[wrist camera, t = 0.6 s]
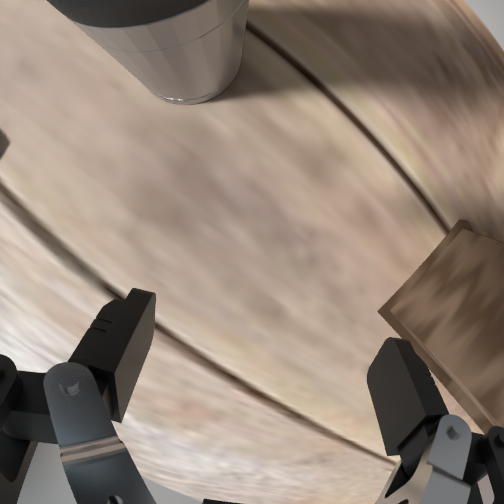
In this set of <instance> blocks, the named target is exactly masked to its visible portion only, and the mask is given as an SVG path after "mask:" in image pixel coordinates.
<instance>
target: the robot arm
mask: <svg viewBox="0 0 504 504" xmlns="http://www.w3.org/2000/svg"><path fill="white" fill-rule="evenodd" d="M47 1H48V2H49V3H50V4H51V5H53V6H54V7H55V8H56V9H57V10H59V11H60V12H61V13H62V14H63V15H65V16H66V17H67V18H68V19H69V20H71V21H72V22H73V23H74V24H75V25H77V26H78V27H79V28H80V29H81V30H82V31H84V32H85V33H86V34H87V35H88V36H89V37H90V38H92V39H93V40H94V41H95V42H97V43H98V44H99V45H100V46H101V47H102V48H103V49H105V50H106V51H107V52H108V53H109V54H110V55H111V56H112V57H114V58H115V59H116V60H117V61H118V62H119V63H120V64H121V65H122V66H124V67H125V68H126V69H127V70H128V71H129V72H130V73H131V74H132V75H133V76H135V77H136V78H137V79H138V80H139V81H140V82H141V83H142V84H143V85H144V86H145V87H146V88H148V89H149V90H150V91H151V92H152V93H153V94H154V95H156V96H157V97H159V98H161V99H162V100H164V101H166V102H170V103H174V104H183V105H189V104H197V103H201V102H204V101H207V100H210V99H211V98H213V97H215V96H217V95H219V94H220V93H221V92H223V91H224V90H225V89H226V88H227V87H228V86H229V85H230V84H231V82H232V81H233V80H234V78H235V76H236V75H237V73H238V71H239V67H240V63H241V57H242V50H243V43H244V36H245V28H246V20H247V13H248V6H249V0H47ZM155 304H156V294H155V293H153V292H149V291H145V290H141V289H137V288H132V290H131V291H130V293H129V294H128V296H127V298H126V299H125V301H121V300H117V299H114V300H112V301H111V302H109V303H108V304H106V305H105V306H103V307H102V309H101V310H100V312H99V313H98V315H97V316H96V319H94V321H93V322H92V324H91V325H90V328H89V329H88V330H87V332H86V333H85V335H84V336H83V338H82V340H81V341H80V343H79V344H78V346H77V348H76V349H75V351H74V352H73V354H72V356H71V357H70V359H69V360H68V362H64V363H60V364H57V365H55V366H53V367H52V368H51V369H49V370H48V372H47V373H36V372H27V371H18V370H17V369H16V366H15V364H14V362H13V361H12V360H11V359H10V358H9V357H7V356H5V355H1V354H0V504H17V500H18V497H19V494H20V491H21V488H22V485H23V482H24V479H25V476H26V474H27V471H28V468H29V466H30V463H31V460H32V457H33V455H34V452H35V450H36V447H37V445H38V442H43V443H52V444H59V447H60V451H61V454H60V457H61V461H62V465H63V468H64V471H65V473H66V476H67V479H68V482H69V484H70V487H71V490H72V492H73V494H74V497H75V499H76V502H77V504H156V502H155V500H154V499H153V497H152V495H151V493H150V492H149V490H148V488H147V487H146V485H145V483H144V481H143V479H142V477H141V475H140V473H139V472H138V470H137V468H136V466H135V464H134V462H133V460H132V458H131V456H130V454H129V452H128V450H127V448H126V446H125V444H124V443H123V442H122V441H120V439H119V437H118V435H117V433H116V431H115V429H114V426H113V424H112V422H111V420H112V421H116V422H119V423H122V420H123V417H124V414H125V412H126V409H127V406H128V403H129V401H130V398H131V395H132V393H133V390H134V387H135V385H136V382H137V379H138V377H139V374H140V372H141V369H142V367H143V364H144V361H145V359H146V356H147V354H148V351H149V349H150V346H151V343H152V339H153V334H154V321H155ZM367 384H368V388H369V391H370V395H371V398H372V402H373V405H374V409H375V412H376V416H377V419H378V423H379V427H380V430H381V434H382V438H383V442H384V446H385V450H386V454H387V456H394V455H400V457H401V460H400V461H398V462H397V464H396V465H395V467H394V469H393V471H392V473H391V475H390V477H389V479H388V481H387V483H386V485H385V487H384V489H383V491H382V493H381V494H380V496H379V498H378V500H377V501H376V503H375V504H483V501H482V498H481V494H480V490H479V487H478V483H477V482H478V481H479V480H481V479H482V478H483V477H484V476H486V475H487V474H488V476H489V479H490V483H491V486H492V489H493V492H494V502H493V504H504V428H503V427H500V426H493V427H491V428H490V429H489V430H488V431H487V432H486V433H485V434H484V435H482V434H478V433H473V432H471V430H470V428H469V426H468V424H467V423H466V422H465V421H464V420H463V419H462V418H460V417H458V416H456V415H452V414H449V412H448V410H447V408H446V405H445V403H444V401H443V399H442V397H441V394H440V392H439V390H438V388H437V386H436V385H435V382H434V379H433V377H431V373H430V371H429V369H428V367H427V365H426V363H425V362H424V361H423V360H422V359H421V358H420V357H419V356H418V355H417V354H416V353H415V351H414V349H413V347H412V345H411V343H410V341H409V340H407V339H400V338H392V337H389V338H387V339H386V340H385V342H384V344H383V345H382V347H381V349H380V350H379V352H378V354H377V356H376V357H375V359H374V361H373V362H372V364H371V366H370V367H369V370H368V373H367ZM202 504H241V503H232V502H224V501H217V500H210V499H204V500H203V503H202Z"/></svg>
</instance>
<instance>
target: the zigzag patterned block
mask: <svg viewBox="0 0 504 504" xmlns="http://www.w3.org/2000/svg"><path fill="white" fill-rule="evenodd" d="M377 312H378V313H379V314H380V315H381V316H382V317H383V318H384V319H385V320H386V321H387V322H388V323H389V325H390V326H391V327H392V328H393V329H394V330H395V331H396V332H397V333H398V334H399V336H400V337H401V338H402V339H407V340H409V341H410V343H411V345H412V347H413V349H414V351H415V353H416V354H417V355H418V356H419V357H420V358H421V359H422V360H423V361H424V362H425V363H426V365H427V367H428V368H429V369H430V370H431V372H432V373H433V374H434V375H435V376H436V377H437V378H438V380H439V381H440V382H441V383H442V384H443V385H444V387H445V388H446V389H447V390H448V391H449V393H450V394H451V395H452V396H453V397H454V398H455V400H456V401H457V402H458V403H459V404H460V405H461V407H462V408H463V409H464V410H465V411H466V412H467V414H468V415H469V416H470V417H471V418H472V420H473V421H474V422H475V423H476V424H477V426H478V427H479V428H480V429H481V430H482V432H483V433H484V434H485V433H486V432H487V431H488V430H489V429H490V428H491V427H493V426H500V427H503V428H504V243H502V242H499V241H497V240H494V239H491V238H489V237H486V236H483V235H480V234H477V233H475V232H473V230H472V229H471V227H470V225H469V223H468V222H466V221H463V220H459V221H458V222H457V223H456V225H455V226H454V227H453V228H452V230H451V231H450V232H449V233H448V234H447V236H446V237H445V238H444V239H443V241H442V242H441V243H440V244H439V245H438V246H437V248H436V249H435V250H434V251H433V252H432V253H431V255H430V256H429V257H428V258H427V259H426V260H425V261H424V263H423V264H422V265H421V266H420V267H419V268H418V269H417V270H416V271H415V273H414V274H413V275H412V276H411V277H410V278H409V279H408V280H407V281H406V282H405V283H404V284H403V286H402V287H401V288H400V289H399V290H398V291H397V292H396V293H395V294H394V295H393V296H392V297H391V298H390V299H389V300H388V301H387V302H386V303H385V304H384V305H383V306H382V307H381V308H380V309H379V310H378V311H377Z"/></svg>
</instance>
